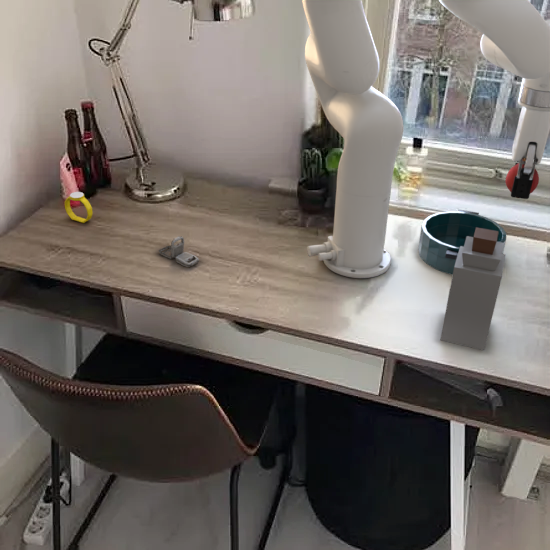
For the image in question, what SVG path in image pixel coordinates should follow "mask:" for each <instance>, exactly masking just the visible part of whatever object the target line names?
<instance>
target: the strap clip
mask: <svg viewBox="0 0 550 550" xmlns="http://www.w3.org/2000/svg"><path fill="white" fill-rule="evenodd" d="M178 241H180V242H178ZM177 242H178V243H177ZM175 243H176V244H175ZM184 249H185V238H184V236H180V235H178V236H176V237H174V238H173V240H172V241H171V243H170V245H166V246H164V247H162V248H160V249H159V250H158V253H159V254H160V255H161V256H163V257H165V258H168V259H170V260H173V259H175V262H176V263H177V264H179V265H181V266H183V267H187V268H190V267H192V266H195V265H196V264H198V263H199V261H200V259H199V257H197V256H196V255H195V254H192V253H190V252H187V251H184Z"/></svg>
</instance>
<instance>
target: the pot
mask: <svg viewBox="0 0 550 550" xmlns="http://www.w3.org/2000/svg"><path fill="white" fill-rule="evenodd" d="M476 227H477V228H482V229H488V230H494V231H499V232H498V237H497V242H502V243H504V244H503V250H502V254H504V251H505V246H506V243H507V237H508V234H507V232H506V230H505V229H504V227H502V226H501V225H500V224H499V223H497V221H495V220H493V219H490V218H488V217H487V216H483V215H480V214H479V215H477V214H473V213H467V212H459V211H458V210H456V211H455V210H447V211H440V212H436V213H433V214H431V215H428V216H426V218H424V220H423V221H422V223H421V227H420V234H419V240H418V245H417V246H418V247H417V251H418V252H417V253H418V255H419V257H420V259H421V260H422V261H423V262H424V263H425V264H426V265H427V266H429V267H431V268H432V269H435V270H437V271H439V272H441V273H445V274H448V275H452V276H453V271H454V266H455V263H456V260H455V259H449V258H445V255H446V251H447V249H450V250H455V251H459V249H460V246H463V247H464V244H465V241H466V237H467V236H469V237H474V233H475V229H476Z"/></svg>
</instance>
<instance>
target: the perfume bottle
mask: <svg viewBox="0 0 550 550" xmlns="http://www.w3.org/2000/svg"><path fill="white" fill-rule="evenodd" d="M498 232H499V231H494V230H488V229H482V228H477V227H476V229H475V233H474V237H469V236H467V237H466V241H465V244H464V247H463V246H460V249H459V252H458V256H457V259H456V263H455V266H454V271H453V275H452V278H451V282H450V286H449V292H448V298H447V303H446V308H445V313H444V317H443V323H442V328H441V334H440V339H439V341H443V342H447V343H451V344H454V345H455V344H456V345H459V346H463V347H464V346H465V347H468V348H472V349H476V350H481V351H485V349H486V344H487V340H488V336H489V332H490V327H491V324H492V321H493V315H494V312H495V307H496V303H497V299H498V295H499V291H500V287H501V283H502V279H503V272H504V268H505V267H504V266H505V262H506V254H505V253H503V254H502V250H503V244H504V243H502V242H497V237H498Z"/></svg>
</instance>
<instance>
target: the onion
mask: <svg viewBox="0 0 550 550" xmlns="http://www.w3.org/2000/svg"><path fill="white" fill-rule="evenodd" d="M522 161H526V158H523V160H522ZM517 163H518V164H516V165H515V164H514V165H513V166H512V167H511V168H510V169H509V170H508V172H507V173H506V176H505V181H504V182H505V186H506V188H507V189H508V191H509V192H510V193H511V191H512V187H513V183H514V178H515V176H517V172H518V167H519V162H517ZM524 166H525V165H523V164H522V168H524ZM539 181H540V175H539V172H538V170H537V169H536V168H535V170H534V175H533V183H532V187H531V191H530V195H531V194H532V193H533V192H534V191H535V190H536V189H537V188H538V185H539V183H540V182H539Z"/></svg>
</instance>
